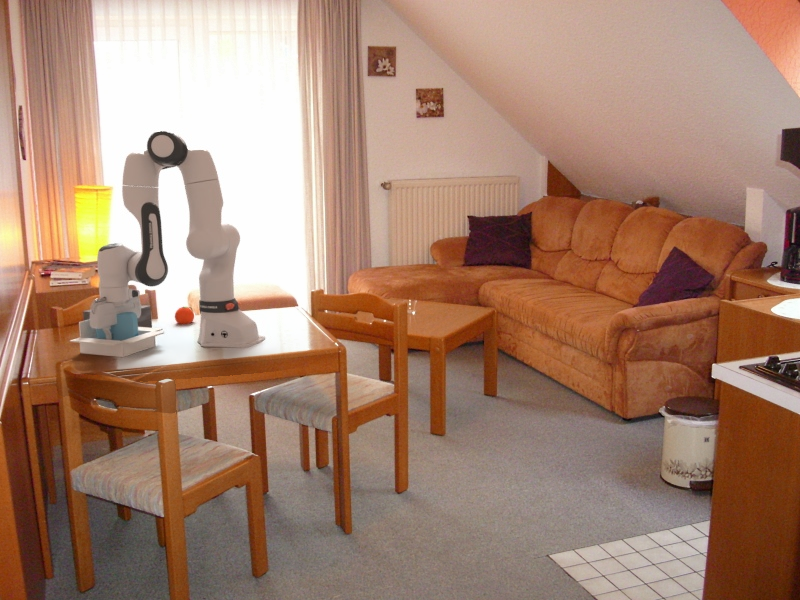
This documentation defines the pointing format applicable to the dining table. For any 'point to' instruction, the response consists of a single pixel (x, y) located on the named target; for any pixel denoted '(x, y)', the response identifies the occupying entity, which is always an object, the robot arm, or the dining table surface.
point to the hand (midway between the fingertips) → (117, 337)
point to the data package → (122, 327)
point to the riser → (142, 320)
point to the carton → (115, 341)
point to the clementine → (184, 315)
